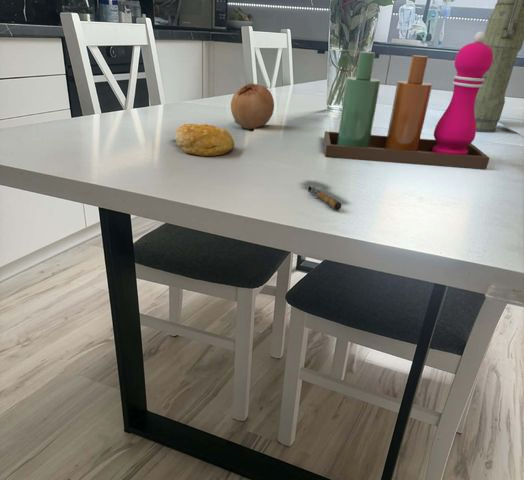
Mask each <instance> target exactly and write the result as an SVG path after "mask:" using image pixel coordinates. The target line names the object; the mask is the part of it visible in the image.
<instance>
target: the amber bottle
mask: <svg viewBox="0 0 524 480" xmlns="http://www.w3.org/2000/svg"><path fill="white" fill-rule="evenodd" d="M428 61H429V56H427V55H417V54H416V55H415V54H414V55H413V54H412V57H411V63H410V67H409V71H408V77H407V80H397V82H396V87H395V93H394V98H393V103H392V108H391V113H390V118H389V124H388V129H387V134H386V136H387V139H386V144H385V149H395V150H408V151H417V150H418V146H419V142H420V139H421V138H422V137H421V136H422V133H423V130H424V129H423V128H424V124H425V121H426V120H425V119H426V115H427V111H428V106H429V101H430V98H431V93H432V89H433V84H432V83H430V82H426V81H425V82H424V79H425V75H426V69H427V66H428V65H427V64H428Z"/></svg>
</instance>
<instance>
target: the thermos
mask: <svg viewBox="0 0 524 480" xmlns="http://www.w3.org/2000/svg"><path fill="white" fill-rule="evenodd" d="M486 24H487V25H486V27H485V32H484V33H485V35H486V37H485V40H484V42H483V44H486V45H488V46H489V47H490V48H491V50H492V52H493V62H492V65H491V67H490V69H489V70H488V71H487V72H486V73H485V74H484V75H483V78H484V81H483V83H482V84H483V86H482V87H480V88H479V91H478V93H477V96H476V100H475V107H474V112H475V120H476V132H479V133H494V132H496V130H497V125H498V122H499V121H500V119H501V116H502V112H503V110H504V106H505V103H506V92H507V89H508V85H509V83H510V79H511V76H512V73H513V69H514V66H515V63H516V60H517V57H518V54H519V52H520V51H521V50H522V47H523V44H524V0H497V1H496V3H495V4H494V8H493V11H492V13H491V14H490V16H489V17H488V19H487V23H486Z"/></svg>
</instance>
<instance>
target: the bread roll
mask: <svg viewBox="0 0 524 480" xmlns="http://www.w3.org/2000/svg"><path fill="white" fill-rule="evenodd" d="M174 140H175V141H176V143H177V145H178V146H179V147H180V149H181V150H182V151H184V153H185V154H190V155H195V156H203V157H211V156H212V157H213V156H222V155H225V154H227V153H229V152H230V151H232V149H234V148H235V140H234V138H233V137H232V134H231V133H230V132H229V131H228V130H227V129H224V128H223V129H222V128H220V127H218V126H215V125H212V124H207V123H203V124H198V123H197V124H196V123H184V124H182V125H180V126H179V127H178V128H177V129H176V130H175V135H174Z"/></svg>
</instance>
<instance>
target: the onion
mask: <svg viewBox="0 0 524 480" xmlns="http://www.w3.org/2000/svg"><path fill="white" fill-rule="evenodd" d="M274 110H275V100H274V97H273V94H272V92H271V91H270V90H269V89H268V87H266V86H265V85H262V84H259V83H253V82H249V83H247V84H245V85H243V86H241V87H240V88H238V89H237V90H235V92H234V94H233V95H232V97H231V100H230V111H231V115H232V118H233V120H234V123H235V124H236V125H238V126H240V127H241V128H243V129H247V130H255V129H258V128H262V127H264V126H266V125H267V124H268V123H269V122H270V120H271V118H272V117H273V114H274Z"/></svg>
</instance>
